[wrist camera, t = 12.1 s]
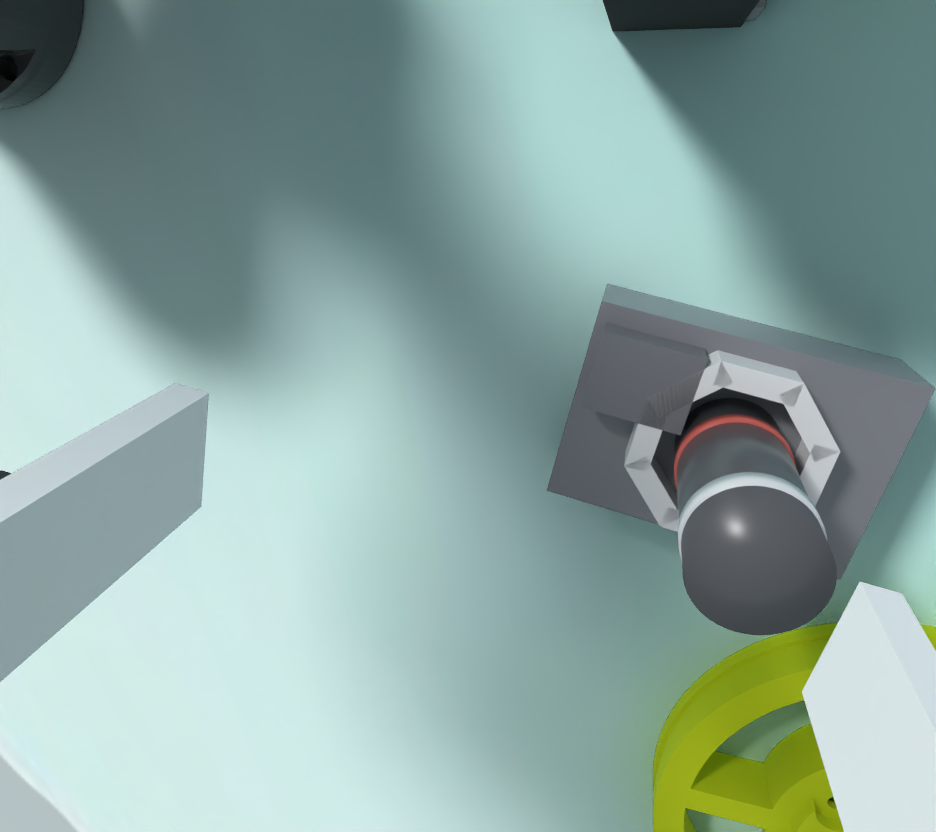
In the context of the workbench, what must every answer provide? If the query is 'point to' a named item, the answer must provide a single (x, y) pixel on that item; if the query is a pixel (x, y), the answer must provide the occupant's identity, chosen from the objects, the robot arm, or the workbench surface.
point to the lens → (748, 523)
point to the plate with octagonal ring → (731, 376)
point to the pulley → (738, 779)
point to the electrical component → (680, 13)
